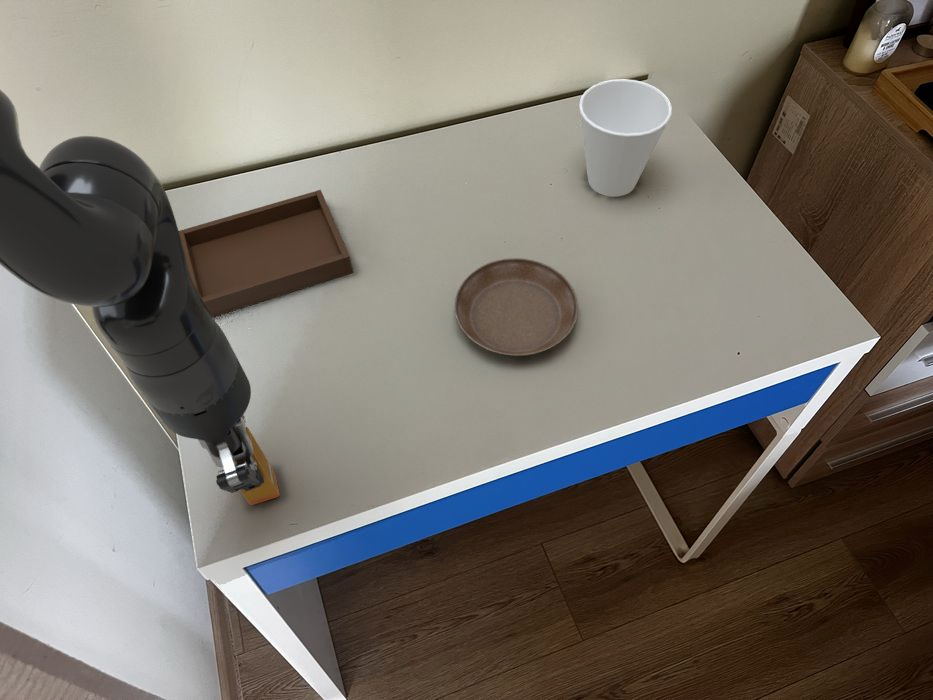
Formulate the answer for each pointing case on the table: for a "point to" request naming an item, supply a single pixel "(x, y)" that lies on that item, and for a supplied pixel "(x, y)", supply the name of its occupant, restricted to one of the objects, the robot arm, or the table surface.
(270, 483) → the supplement box
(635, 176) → the cup
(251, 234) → the tray
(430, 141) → the table surface
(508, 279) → the saucer
